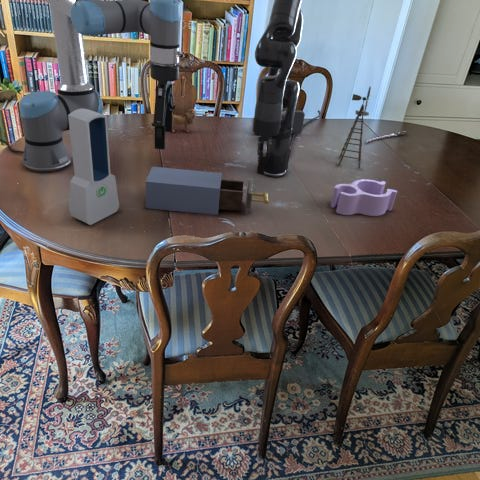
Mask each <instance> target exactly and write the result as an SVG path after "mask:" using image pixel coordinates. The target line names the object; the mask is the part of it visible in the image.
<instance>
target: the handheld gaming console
mask: <svg viewBox="0 0 480 480" xmlns="http://www.w3.org/2000/svg"><path fill="white" fill-rule="evenodd" d="M284 111H286V109H284V110H283V109H282V112H284ZM305 115H306V114H305V112H304V111H303V110H297V109H295V114H294V120H293V127H292V134H291V135H294V133H295V132H296V135H297V134H301V133H302V132H303V128H304V127H303V125H304V122H305V121H304V120H305ZM252 132H253V133H254V131H253V130H252ZM254 135H258V134H256V133H254ZM258 136H259V135H258Z"/></svg>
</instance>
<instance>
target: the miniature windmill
mask: <svg viewBox="0 0 480 480" xmlns="http://www.w3.org/2000/svg"><path fill="white" fill-rule="evenodd" d="M371 90H372V89H371V86H369V87H368V90H367V93H366V94H367V95H366V96H361V95H359V94H355V93H353V94H352V98H351V101H362V104H361V106H360V107H359V108H360V109H359V110H357V109H356V110H355V115H356V117H355V120H354V122H353V123H352V127H351V128H350V131H349V133H348V136H347V138H346V139H345V142H344V144H343V147H342V149H341V152H340V154H339V157H338V158H339V159H340V160H339V162H338V165H339V166H341V164H342V161H343V159H344V158H349V159H354V160H357V162H358V167H357V169H361V161H362V146H363V134H364V132H363V127H364V122H365V121H364V117H367V116H370V114H369V112H368V111H366V110H367V107H368V103H369V100H370V96H371V95H370V94H371ZM358 123H361V124H360V128H357V127H356V126H357V124H358ZM355 130H357V131H355ZM359 131H360V132H359ZM353 133H354V134H359V135H360V136H359V138H352V136H353ZM351 140H352V141H353V140H354V141H358V142H359V143H353V142H350V141H351ZM349 145H354V146H359V147H358V150H352V149H347V148H348V146H349ZM346 151H347V152H350V153H351V152H352V153H358V157H353V156H348V155H345V154H346Z"/></svg>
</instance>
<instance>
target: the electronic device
mask: <svg viewBox="0 0 480 480" xmlns="http://www.w3.org/2000/svg"><path fill="white" fill-rule="evenodd" d="M68 119H69V128H70V130H69V135H70V136H69V137H70V145H71V154H72V155H71V156H72V164H73V172H74V175H73V176H72V178H71V180H70V181H69V184H70V185H69V196H68V197H69V199H68V211H69V213H70V216H71V217H73V218H74V219H76V220H78V221H81V222H83V223H84V224H87V225H89V226H92V225H94V224H96V223H98V222H99V221H102V220H103V219H105V218H107V217H109V216H111V215H113V214H115V213H117V212H118V210H119V208H120V202H119V195H118V188H117V181H116V175H114V174H112V173H111V161H110V145H109V143H110V142H109V130H108V116H107V115H106V114H100V113H97V112H94V111H91V110H88V109H77V110H75V111H73V112H71V113H70V114H69V115H68Z"/></svg>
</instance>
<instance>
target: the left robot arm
mask: <svg viewBox="0 0 480 480" xmlns="http://www.w3.org/2000/svg"><path fill="white" fill-rule="evenodd" d="M44 1H45V2H46V3H47V4H48V5H49V8H50V9H49V10H50V18H51V24H52V31H53V36H54V44H55V49H56V56H57V63H58V70H59V76H60V83H59V84H58V86H57V89H56V90H57V94H56V92H54V91H51V90H42V91H41V90H37V91H32V92H30V93H26V94H24V96H22V97H21V99H20V100H19V103H18V104H19V116H20V120H21V126H22V132H23V136H24V148H23V150H19V149H18V150H17V149H14V148H11V146H10V144H9V142H7V141H6V140H4V139H1V138H0V142H1V143H4V144H5V145H6V147H7V149H8V150H9V151H11V152H13V153H16V154H17V153H18V154H22V158H21V159H22V160H21V161H22V166H23V168H24V169H25V170H27V171H29V172H33V173H39V174H46V173H56V172H61V171H63V170H66V169H67V168H69V167H70V166H71V163H72V159H71V155H70V153H69V151H68V150H67V149H68V148H67V147H66V145H65V143H64V140H63V132H66V131H67V132H68V131H70V128H69V119H68V115H69V114H70V113H71V112H73V111H75V110H77V109H88V110H91V111H94V112H97V113H100V114H103V113H104V103H103V99H102V98H101V95H100V93H99V91H97V90H96V89H95V87H94V85H93V84H92V83H90V81H89V77H88V69H87V68H88V67H87V61H86V60H87V59H86V52H85V44H84V36H91V37H97V36H103V35H114V34H129V33H142V34H146V35H149V61H150V62H151V63H150V64H149V73H150V74H149V76H150V78H151V79H153V80H154V81H157V82H158V83H157V85H156V86H155V89H154V90H155V96H154V97H155V98H154V110H153V122H151V127H153V128H154V149H156V150H162V151H163V150H164V151H165V150H166V132H167V133H173V132H172V129H173V127H172V118H173V115H174V114H173V112H174V110H176V105H175V102H174V84H173V82H176V81H178V80H179V78H180V66H179V63H180V56H182V51H180V41H181V40H180V38H181V21H182V20H181V19H182V16H181V3H180V1H179V0H149V2H148V1H146V0H44ZM103 115H104V114H103Z"/></svg>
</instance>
